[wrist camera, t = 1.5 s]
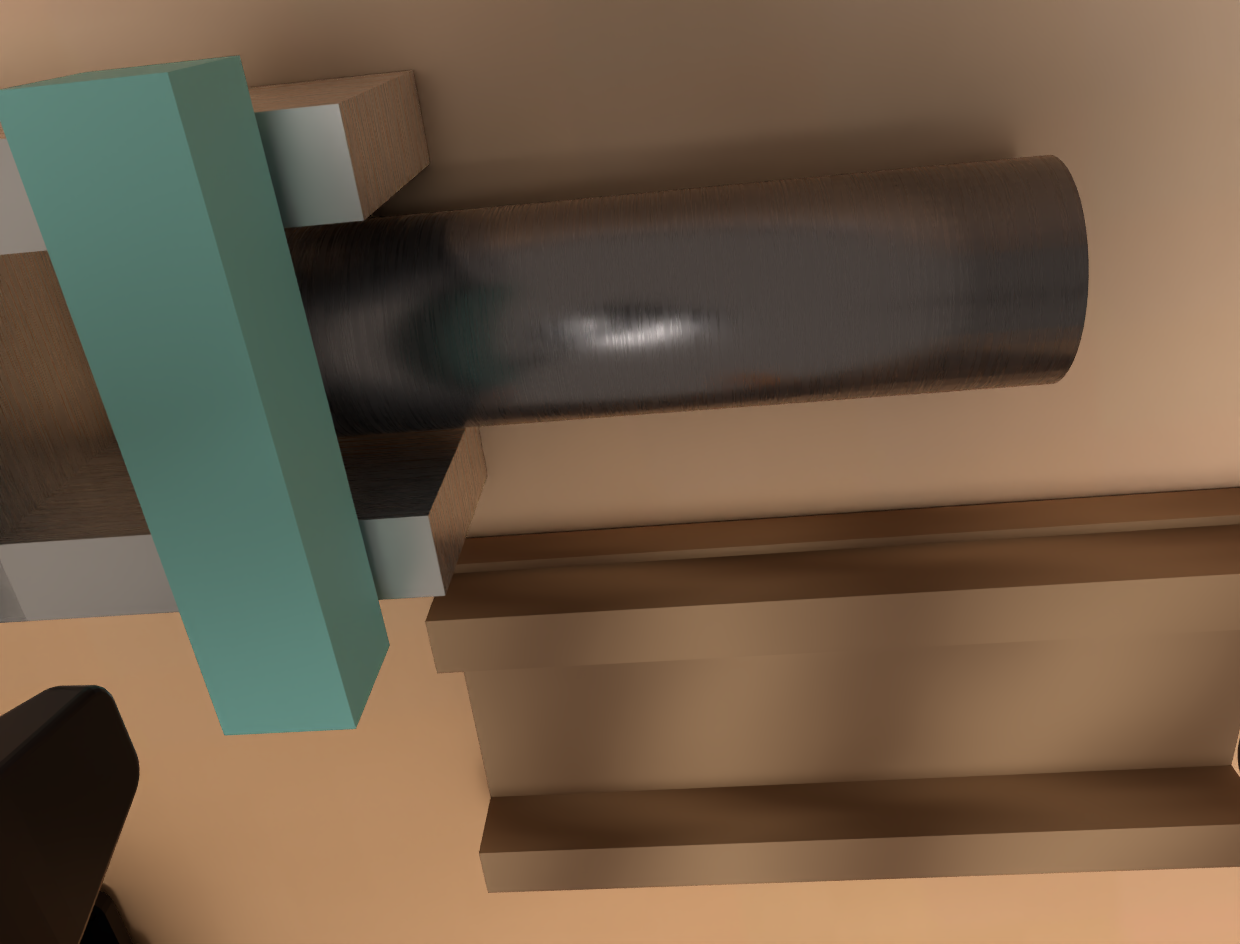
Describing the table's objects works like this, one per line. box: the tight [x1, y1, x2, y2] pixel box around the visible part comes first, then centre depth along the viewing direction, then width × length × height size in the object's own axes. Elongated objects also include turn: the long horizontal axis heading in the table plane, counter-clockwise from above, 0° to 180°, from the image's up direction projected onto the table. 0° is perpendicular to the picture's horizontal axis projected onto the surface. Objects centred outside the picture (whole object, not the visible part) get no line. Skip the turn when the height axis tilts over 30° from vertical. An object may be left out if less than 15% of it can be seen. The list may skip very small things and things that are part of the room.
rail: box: [425, 488, 1240, 893], centre depth 21 cm, size 16×8×3 cm, turn 96°
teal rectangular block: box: [0, 55, 390, 735], centre depth 14 cm, size 2×9×2 cm, turn 6°
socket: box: [0, 70, 487, 623], centre depth 17 cm, size 8×8×4 cm
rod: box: [284, 155, 1089, 437], centre depth 17 cm, size 14×4×4 cm, turn 96°
